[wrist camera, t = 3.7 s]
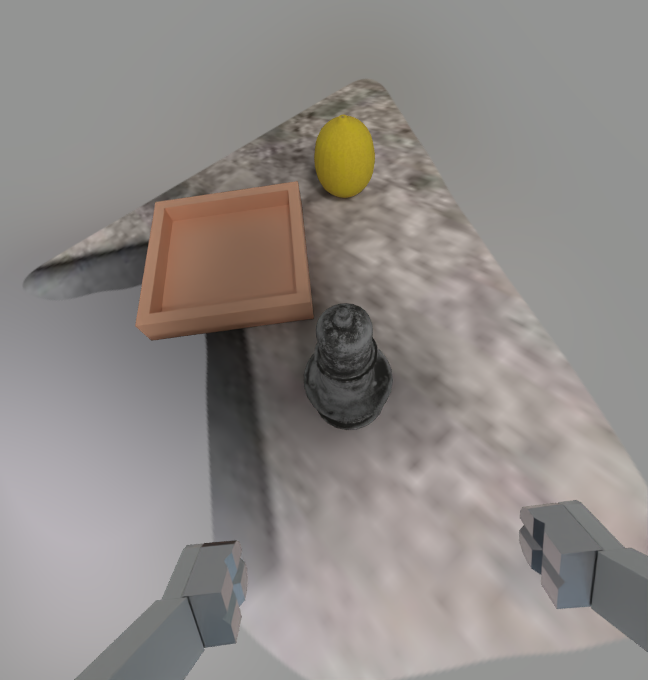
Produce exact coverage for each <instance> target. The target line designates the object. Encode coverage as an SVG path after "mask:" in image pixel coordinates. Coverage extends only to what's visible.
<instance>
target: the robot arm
mask: <svg viewBox="0 0 648 680" xmlns="http://www.w3.org/2000/svg"><path fill="white" fill-rule="evenodd" d="M520 519H521V521H522V522H523V524H524V526H523V527H522V528H521V529H520V530H519V541H520V545H521V549H522V552H523V554H524V556H525V559H526V561H527V562H528V564H529V566H530V567H531V569H533V570H534V571H536V572H537V573H539V574H540V575H541V585H542V587H543V588H544V590H545V591H546V593H547V594H548V596H549V598H550V599H551V601H552V602H553V604H554V606H555V607H556V609H563V608H577V607H590V606H591V609H593V610H594V611H595V612H597V613H598V614H599V615H600V616H602V617H603V618H604V619H606V620H607V621H608V622H609V623H611V624H612V625H613V626H615V627H616V628H617V629H618V630H620V631H621V632H622V633H624V634H625V635H626V636H627V637H629V638H630V639H631V640H633V641H634V642H635V643H636V644H638V645H639V646H640V647H642V648H643V649H644V650H645V651H647V652H648V556H647V555H645V554H643V553H641V552H639V551H637V550H635V549H633V548H625V547H624V546H623V545H622V544H621V543H620V542H619V541H618V540H617V539H616V538H615V537H614V536H613V535H612V534H611V533H610V532H609V531H608V530H607V529H606V528H605V527H604V526H603V525H602V524H601V522H600V521H599V520H598V519H597V518H596V517H595V516H594V515H593V514H592V513H591V512H590V511H589V510H588V509H587V508H586V507H585V506H584V505H583V504H582V503H581V502H579V501H577V500H573V501H565V502H558V503H550V504H542V505H534V506H526V507H522V508H521V510H520ZM241 552H242V548H241V545H240V542H239V541H237V540H235V541H224V542H212V543H204V544H194V545H187V546H186V547H185V548H184V549H183V551H182V553H181V555H180V558H179V560H178V562H177V565H176V567H175V569H174V572H173V574H172V576H171V579H170V581H169V584H168V586H167V588H166V590H165V592H164V595H163V597H162V600H157V601H155V602H154V603H153V604H152V605H151V606H150V607H149V608H148V609H147V610H146V611H145V612H144V613H143V614H142V615H141V616H140V617H139V618H138V619H137V620H136V621H134V622H133V623H132V624H131V625H130V626H129V627H128V628H127V629H126V630H125V631H124V632H123V633H122V634H121V635H120V636H119V637H118V638H117V639H116V640H115V641H114V642H113V643H112V644H111V645H110V646H109V647H108V648H107V649H106V650H105V651H103V652H102V653H101V654H100V655H99V656H98V657H97V658H96V659H95V660H94V661H93V662H92V663H91V664H90V665H89V666H88V667H87V668H86V669H85V670H84V671H83V672H82V673H81V674H80V675H79V676H78V677H77V678H76V679H74V680H184V679H185V678H186V676H187V675H188V673H189V672H190V670H191V669H192V667H193V666H194V665H195V663H196V662H197V660H198V659H199V657H200V656H201V654H202V653H203V652H204V648H206V647H214V646H220V645H227V644H234V643H236V642H237V636H238V632H239V627H240V622H241V618H242V616H241V612H240V609H239V607H240V606H241V604H242V603H243V602H244V601H245V598H246V592H247V580H248V576H247V568H246V564H245V561H243V560H242V559H241V558H240V556H241Z"/></svg>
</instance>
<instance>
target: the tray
mask: <svg viewBox="0 0 648 680" xmlns="http://www.w3.org/2000/svg"><path fill="white" fill-rule="evenodd" d="M307 319H314V314H313V305H312V295H311V286H310V277H309V267H308V258H307V249H306V239H305V230H304V221H303V212H302V202H301V197H300V191H299V185H298V181H296V182H290V183H283V184H276V185H269V186H262V187H256V188H249V189H242V190H235V191H228V192H221V193H215V194H208V195H201V196H194V197H187V198H181V199H174V200H167V201H160V202H155V208H154V215H153V221H152V227H151V233H150V239H149V245H148V251H147V257H146V263H145V270H144V276H143V282H142V288H141V294H140V300H139V307H138V313H137V318H136V325H135V326H136V327H137V328H138V329H139V330H140V331H141V332H142V333H144V334H145V335H146V336H147V337H148V338H149V339H150V340H159V339H166V338H174V337H181V336H188V335H196V334H203V333H211V332H218V331H225V330H233V329H240V328H248V327H255V326H262V325H270V324H277V323H284V322H292V321H299V320H307Z"/></svg>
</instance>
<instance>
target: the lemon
mask: <svg viewBox="0 0 648 680" xmlns="http://www.w3.org/2000/svg"><path fill="white" fill-rule="evenodd" d="M314 162H315V169H316V173H317V176H318V179H319V181H320V183H321V184H322V186H323V187H324V189H325V190H326V191H328V192H329V193H330V194H332V195H334V196H337V197H341V198H347V197H352V196H355V195H356V194H358V193H360V192H361V191H362V190H363V189H364V188H365V187H366V186H367V184H368V183H369V181H370V179H371V177H372V174H373V169H374V163H375V152H374V146H373V141H372V137H371V134H370V132H369V131H368V129H367V127H366V126H365V125H364V124H363V123H362V122H361V121H360V120H358V119H356V118H354V117H351V116H346V115H340V116H339V117H336V118H333V119H332V120H330V121H329V122H328V123H326V124H325V126H324V127H323V128H322V129H321V131H320V133H319V135H318V137H317V140H316V146H315V155H314Z"/></svg>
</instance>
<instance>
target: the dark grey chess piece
mask: <svg viewBox="0 0 648 680" xmlns="http://www.w3.org/2000/svg"><path fill="white" fill-rule="evenodd" d="M372 333H373V328H372V322H371V320H370V317H369V315H368V314H367V313H366V311H365V310H363V309H362V308H361V307H359V306H356V305H354V304H348V303H344V304H337V305H334V306H332V307H330V308H328V309H327V310H326V311H325V312H324V313H322V315H321V316H320V318H319V319H318V323H317V326H316V337H317V341H318V342H317V344H316V348H315V353H314V354H313V355H312V356H311V358H310V360H309V361H308V363H307V366H306V369H305V373H304V387H305V390H306V394H307V397H308V398H309V400H310V402H311V403H312V405H313V406H314V407H315V408H316V409H317V410H318V412H319V414H320V415H321V417H322V418H323V419H324V420H325V421H326V422H327V423H329V424H331V425H332V426H334V427H336V428H340V429H345V430H354V429H359V428H362V427H365V426H367V425H368V424H370V423H371V422H373V421H374V420H375V419H376V417H377V416H378V415H379V414H380V412H381V410H382V407H383V405H384V404H385V403H386V401H387V399H388V397H389V395H390V393H391V388H392V382H393V378H392V370H391V367H390V365H389V363H388V360H387V359H386V357H385V356H384V355H383V353H382V352H381V351H380V350H379V349H377V345H376V343H375V340H374V339H373V337H372Z"/></svg>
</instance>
